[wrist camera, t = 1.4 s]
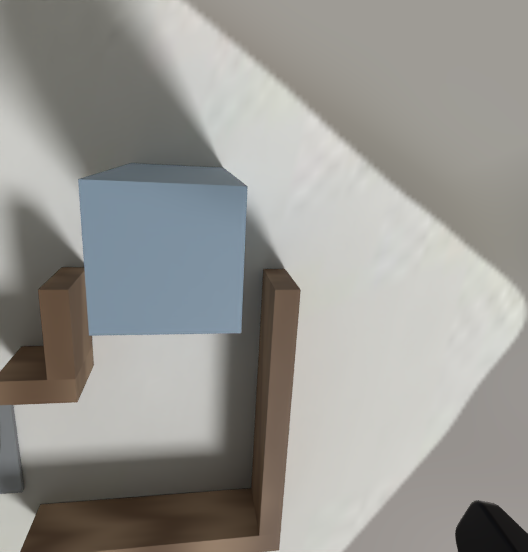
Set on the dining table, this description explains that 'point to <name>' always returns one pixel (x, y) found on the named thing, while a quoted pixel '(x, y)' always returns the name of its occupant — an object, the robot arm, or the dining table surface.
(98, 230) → the slate block
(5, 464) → the grey mat
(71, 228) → the dining table surface
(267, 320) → the brown angular open frame
